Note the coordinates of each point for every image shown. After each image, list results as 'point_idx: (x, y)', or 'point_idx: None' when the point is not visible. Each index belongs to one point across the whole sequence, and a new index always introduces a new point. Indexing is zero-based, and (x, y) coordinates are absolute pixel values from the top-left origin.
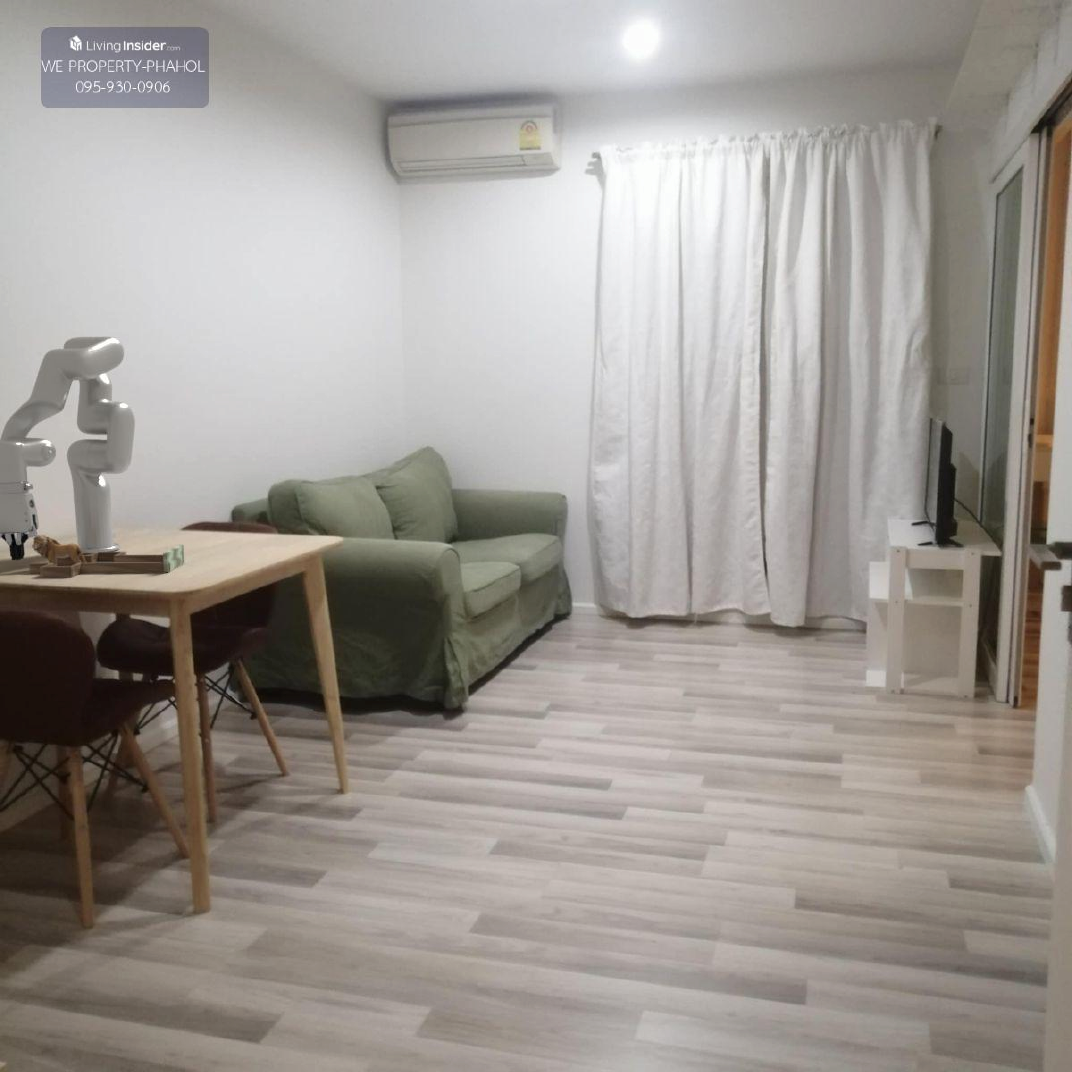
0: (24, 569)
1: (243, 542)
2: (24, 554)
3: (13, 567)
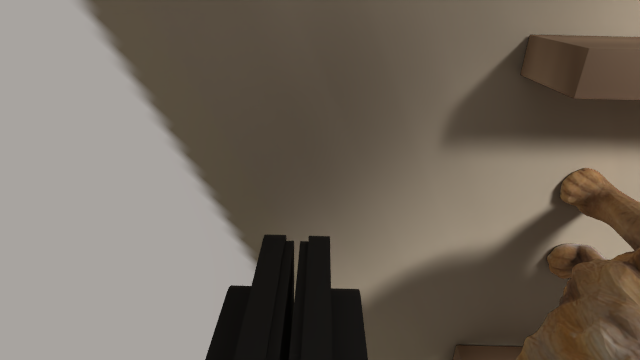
0: (357, 243)
1: None
2: (358, 290)
3: (220, 158)
